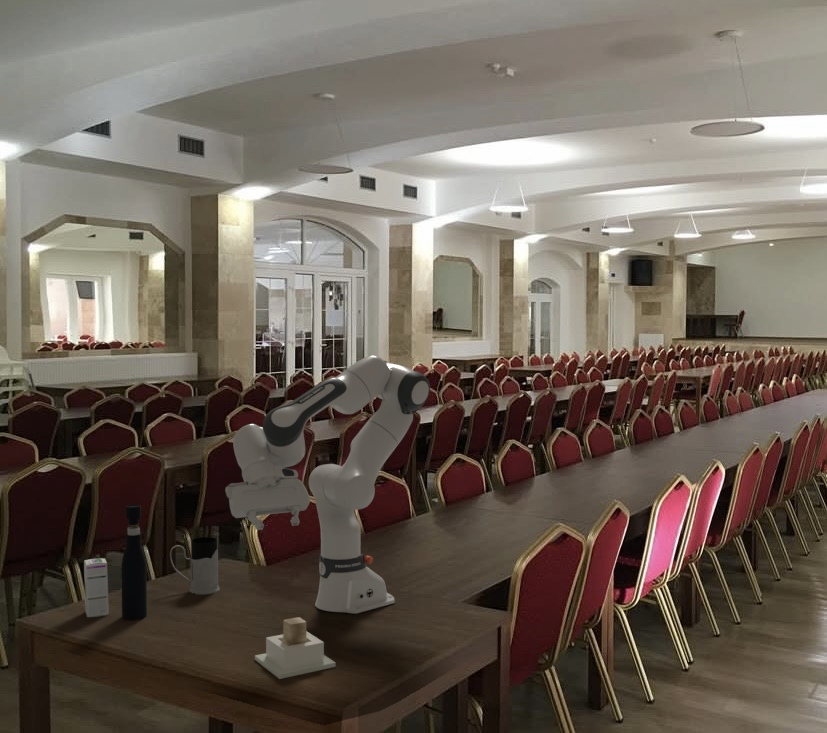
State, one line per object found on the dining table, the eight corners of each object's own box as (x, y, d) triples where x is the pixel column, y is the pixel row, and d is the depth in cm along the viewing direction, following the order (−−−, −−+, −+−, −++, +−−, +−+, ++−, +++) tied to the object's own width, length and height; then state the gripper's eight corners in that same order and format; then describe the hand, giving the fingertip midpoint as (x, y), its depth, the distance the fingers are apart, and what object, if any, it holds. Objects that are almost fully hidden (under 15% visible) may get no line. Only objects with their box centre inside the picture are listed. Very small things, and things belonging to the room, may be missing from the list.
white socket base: (308, 648, 226) (308, 626, 225) (335, 666, 214) (335, 643, 214) (254, 659, 218) (254, 636, 218) (279, 679, 206) (279, 654, 206)
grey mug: (219, 593, 272) (219, 542, 271) (169, 596, 269) (169, 544, 268) (219, 585, 280) (219, 535, 279) (171, 587, 277) (170, 538, 276)
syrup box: (109, 615, 251) (108, 562, 250) (86, 618, 249) (85, 564, 248) (106, 609, 256) (106, 557, 256) (84, 611, 254) (83, 559, 253)
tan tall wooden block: (299, 654, 219) (298, 617, 218) (306, 660, 215) (306, 621, 215) (283, 658, 217) (283, 619, 216) (290, 663, 213) (290, 624, 213)
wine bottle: (133, 621, 246) (132, 509, 244) (116, 617, 249) (115, 506, 248) (151, 615, 251) (150, 505, 250) (135, 611, 254) (134, 502, 253)
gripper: (226, 476, 227) (241, 523, 220) (302, 470, 238) (319, 514, 230) (220, 492, 231) (234, 538, 223) (295, 484, 242) (311, 529, 234)
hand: (278, 526), depth 227 cm, fingers open, 8 cm apart
